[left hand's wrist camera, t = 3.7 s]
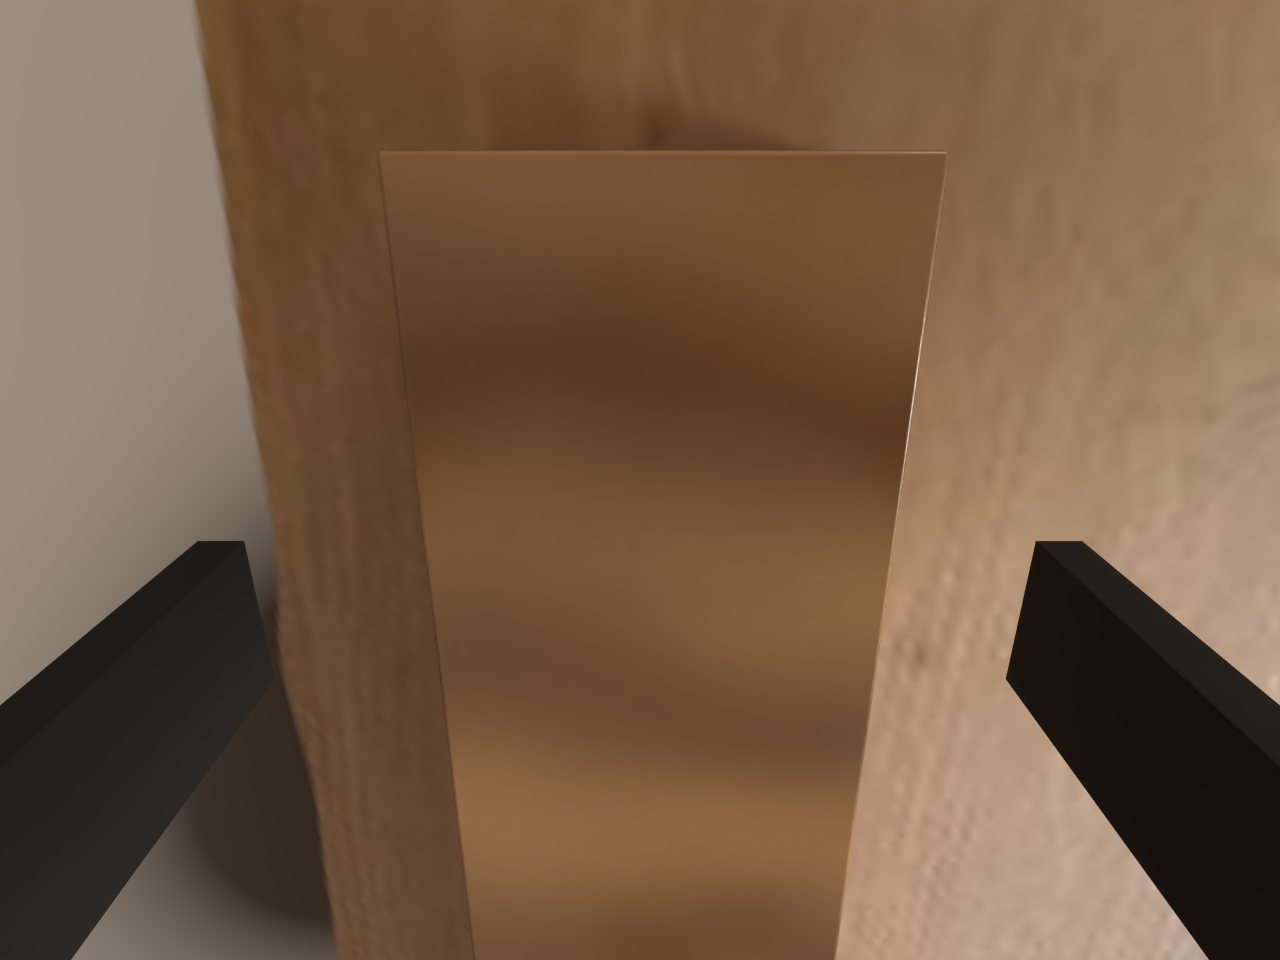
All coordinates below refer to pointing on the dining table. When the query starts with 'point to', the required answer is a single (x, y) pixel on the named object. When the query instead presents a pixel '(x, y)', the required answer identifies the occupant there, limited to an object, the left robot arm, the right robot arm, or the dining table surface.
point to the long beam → (659, 524)
